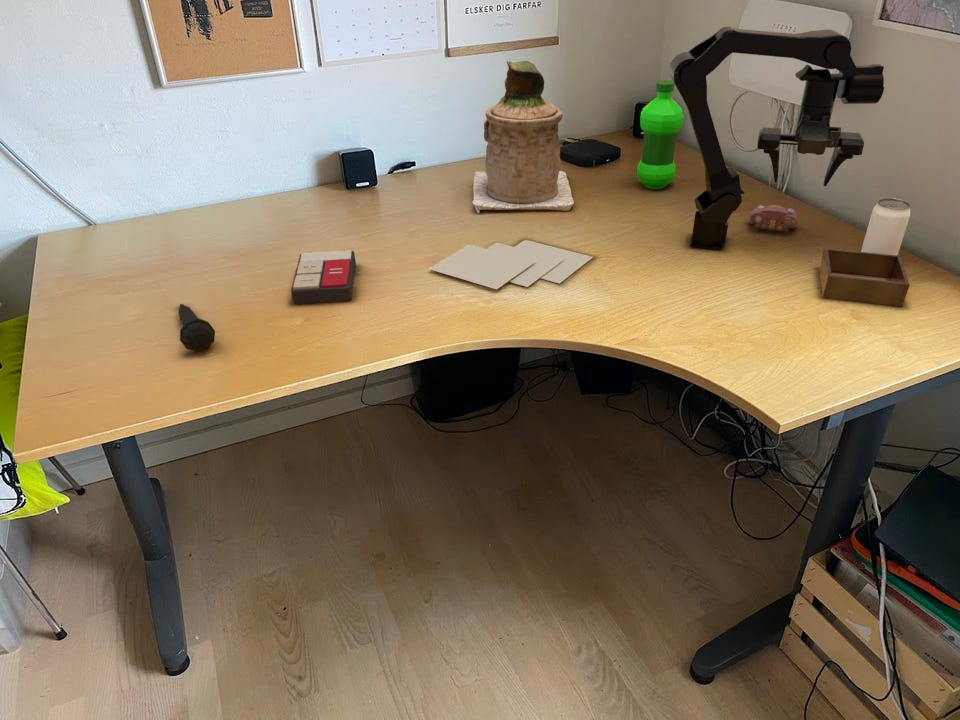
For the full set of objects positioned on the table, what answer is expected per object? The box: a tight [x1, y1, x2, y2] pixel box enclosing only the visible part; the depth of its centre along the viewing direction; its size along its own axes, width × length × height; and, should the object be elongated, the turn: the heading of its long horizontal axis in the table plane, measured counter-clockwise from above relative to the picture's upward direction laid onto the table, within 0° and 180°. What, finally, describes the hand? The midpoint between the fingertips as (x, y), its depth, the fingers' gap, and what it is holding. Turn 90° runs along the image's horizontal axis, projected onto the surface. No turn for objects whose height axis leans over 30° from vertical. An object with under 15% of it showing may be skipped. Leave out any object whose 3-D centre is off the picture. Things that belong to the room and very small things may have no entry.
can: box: [860, 197, 911, 256], centre depth 141 cm, size 6×6×12 cm
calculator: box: [290, 249, 357, 305], centre depth 141 cm, size 11×4×15 cm
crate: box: [818, 247, 910, 308], centre depth 134 cm, size 13×12×4 cm
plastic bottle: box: [636, 80, 685, 190], centre depth 176 cm, size 10×10×25 cm
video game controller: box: [749, 204, 799, 232], centre depth 157 cm, size 10×5×7 cm, turn 68°
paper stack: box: [428, 239, 594, 290], centre depth 147 cm, size 23×25×1 cm
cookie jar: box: [471, 59, 575, 214], centre depth 172 cm, size 25×25×32 cm
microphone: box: [178, 303, 216, 353], centre depth 128 cm, size 6×6×20 cm
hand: (799, 183), depth 145 cm, fingers open, 9 cm apart
